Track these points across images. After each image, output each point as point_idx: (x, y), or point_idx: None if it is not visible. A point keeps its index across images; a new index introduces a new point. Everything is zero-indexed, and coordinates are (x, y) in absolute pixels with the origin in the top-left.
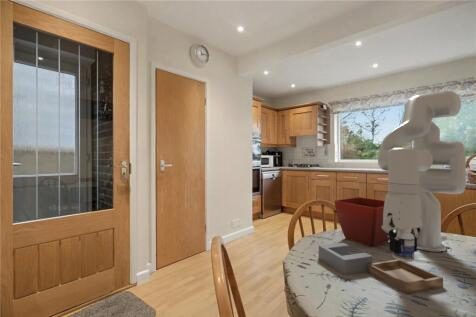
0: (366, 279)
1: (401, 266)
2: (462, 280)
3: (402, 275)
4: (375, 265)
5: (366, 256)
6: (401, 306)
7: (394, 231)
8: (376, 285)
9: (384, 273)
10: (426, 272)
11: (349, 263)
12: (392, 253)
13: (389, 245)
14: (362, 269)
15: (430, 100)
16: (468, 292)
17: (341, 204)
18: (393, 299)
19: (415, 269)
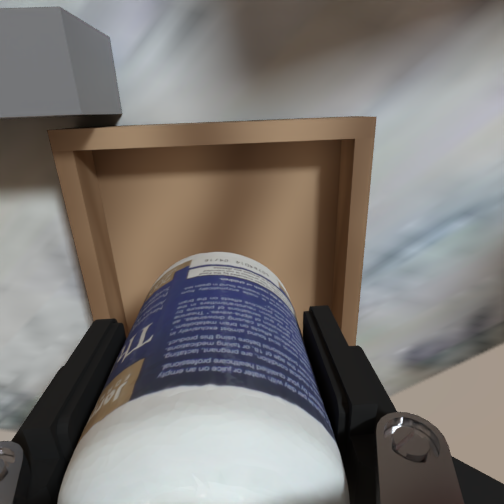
0: (8, 207)
1: (342, 149)
2: (493, 323)
3: (237, 243)
4: (112, 147)
5: (21, 105)
6: (31, 407)
7: (103, 501)
8: (27, 271)
9: (82, 268)
10: (341, 312)
11: None
12: (148, 294)
13: (77, 347)
14: (27, 117)
15: None
16: (387, 390)
17: None
18: (31, 371)
19: (342, 248)
